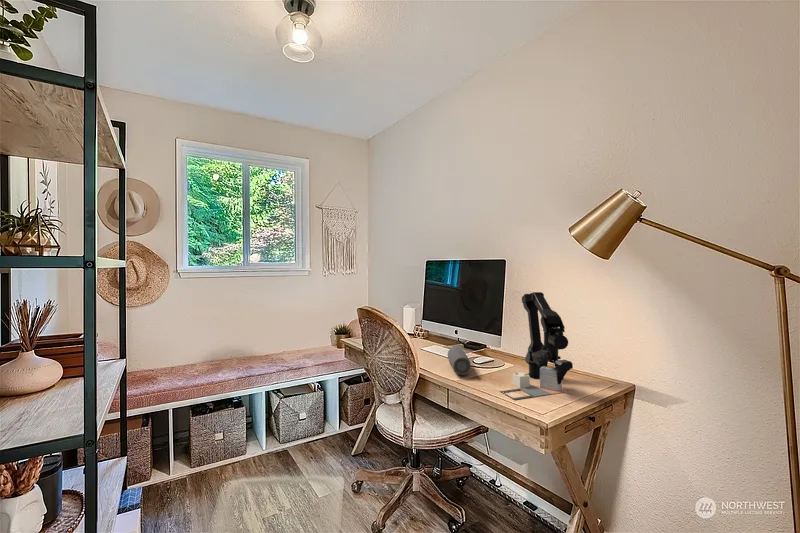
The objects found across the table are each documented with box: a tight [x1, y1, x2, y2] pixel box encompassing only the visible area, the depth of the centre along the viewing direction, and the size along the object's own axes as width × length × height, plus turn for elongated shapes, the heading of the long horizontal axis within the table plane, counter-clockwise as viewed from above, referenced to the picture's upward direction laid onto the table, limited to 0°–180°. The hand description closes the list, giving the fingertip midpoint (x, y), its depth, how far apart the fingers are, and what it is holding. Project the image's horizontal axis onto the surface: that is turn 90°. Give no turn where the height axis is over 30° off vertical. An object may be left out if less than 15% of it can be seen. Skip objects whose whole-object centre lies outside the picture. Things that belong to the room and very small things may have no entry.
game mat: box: [499, 385, 569, 401], centre depth 159 cm, size 10×27×1 cm, turn 110°
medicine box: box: [539, 365, 563, 391], centre depth 162 cm, size 8×4×9 cm, turn 48°
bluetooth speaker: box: [447, 346, 472, 376], centre depth 190 cm, size 23×9×10 cm, turn 0°
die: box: [512, 372, 531, 389], centre depth 167 cm, size 5×5×5 cm
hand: (551, 380), depth 162 cm, fingers open, 9 cm apart
